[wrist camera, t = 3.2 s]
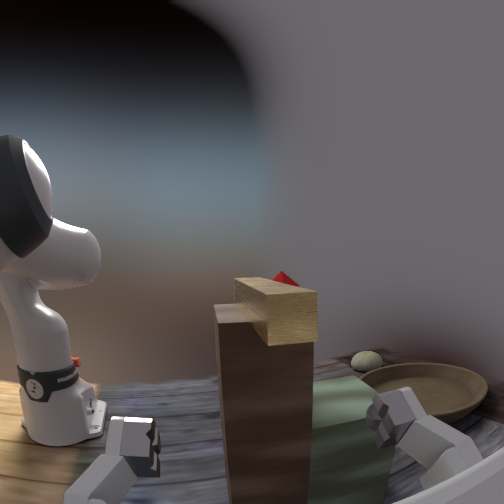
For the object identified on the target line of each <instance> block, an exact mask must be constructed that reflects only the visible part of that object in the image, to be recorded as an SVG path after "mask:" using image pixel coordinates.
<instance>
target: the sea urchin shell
mask: <svg viewBox="0 0 504 504" xmlns="http://www.w3.org/2000/svg"><path fill="white" fill-rule="evenodd" d="M351 365H352V368H353V369H354V370H358V371H362V372H369V371H372V370H375V369H378V368H381V367H382V365H383V360H382V358H381V357H380V355H378V354H377V353H374V352H371V351H363V352H360V353H357V354H356V355H355V356H354V358H353V359H352V361H351Z"/></svg>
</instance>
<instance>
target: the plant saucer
mask: <svg viewBox="0 0 504 504" xmlns="http://www.w3.org/2000/svg"><path fill="white" fill-rule="evenodd" d="M359 379H360V380H361V381H363V382H364V383H366V384H367V385H368V386H370V387H371V388H373V389H374V390H376V391H377V392H378V393H380V394H381V393H385V392H388V391H392V390H396V389H400V388H404V387H410V388H411V389H412V391H413V392H414V394H415V396H416V397H417V399H418V401H419V402H420V404H421V406H422V407H423V409H424V411H425V412H426V414H427V416H428V415H431V416H433V417H435V418H437V419H438V420H440V421H442V422H444V423H445V424H450V423H453V422H456V421H458V420H460V419H462V418H463V417H465V416H466V415H468V414H469V413H470V412H471V411H472V410H474V409H475V408H476V407H477V406H479V404H480V403H481V402H482V401H483V400H484V398H485V396H486V395H487V392H488V385H487V382H486V381H485V379H484V378H483V377H481V376H480V375H479V374H477V373H475V372H473V371H471V370H468V369H465V368H461V367H457V366H452V365H446V364H437V363H406V364H397V365H391V366H386V367H381V368H378V369H375V370H372V371H369V372H367V373H365V374H364V375H362V376H361V377H360V378H359Z"/></svg>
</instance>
